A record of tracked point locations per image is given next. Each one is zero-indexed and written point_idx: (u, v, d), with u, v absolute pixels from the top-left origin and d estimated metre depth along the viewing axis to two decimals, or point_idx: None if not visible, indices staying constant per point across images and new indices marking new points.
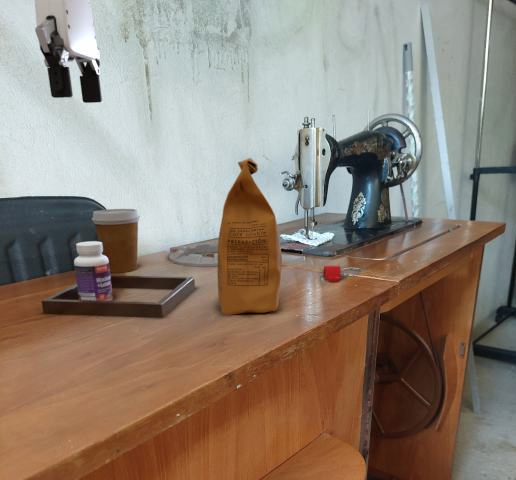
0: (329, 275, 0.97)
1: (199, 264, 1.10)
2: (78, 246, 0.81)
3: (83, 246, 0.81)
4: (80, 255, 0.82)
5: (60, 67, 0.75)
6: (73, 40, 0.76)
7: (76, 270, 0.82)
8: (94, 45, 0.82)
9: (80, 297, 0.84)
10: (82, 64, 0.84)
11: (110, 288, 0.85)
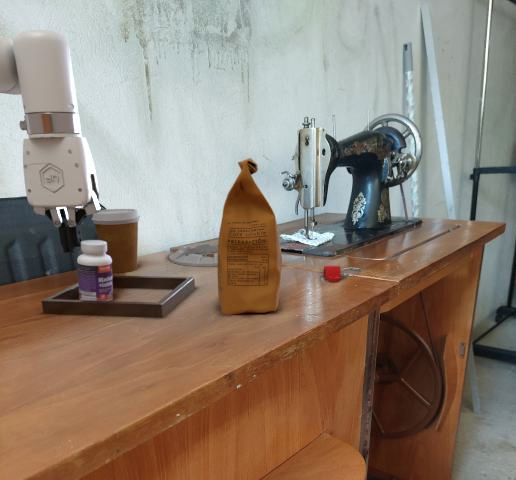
0: (329, 275, 0.97)
1: (199, 264, 1.10)
2: (83, 244, 0.81)
3: (88, 245, 0.80)
4: (84, 253, 0.82)
5: None
6: None
7: (79, 268, 0.82)
8: None
9: (80, 295, 0.83)
10: None
11: (111, 288, 0.85)
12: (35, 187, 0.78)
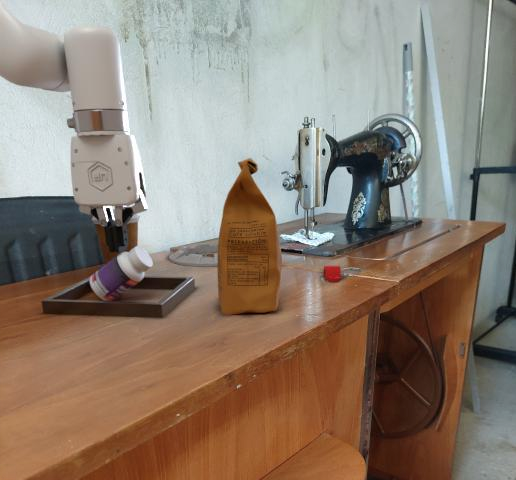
0: (329, 275, 0.97)
1: (199, 264, 1.10)
2: (135, 254, 0.80)
3: (138, 259, 0.80)
4: (129, 259, 0.81)
5: None
6: None
7: (114, 264, 0.81)
8: None
9: (94, 280, 0.82)
10: None
11: (122, 294, 0.85)
12: (83, 186, 0.76)
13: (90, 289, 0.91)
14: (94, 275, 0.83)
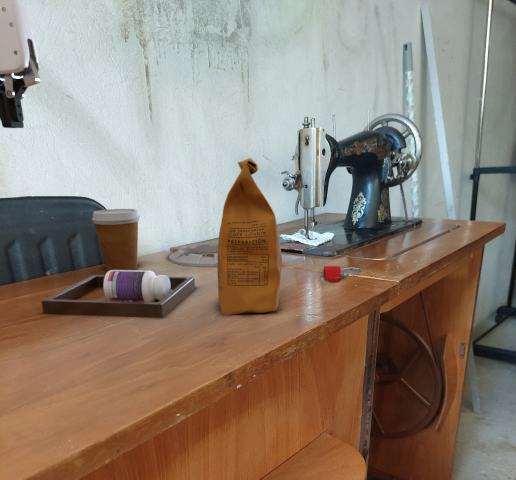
0: (329, 275, 0.97)
1: (199, 264, 1.10)
2: (161, 284, 0.81)
3: (161, 291, 0.81)
4: (153, 284, 0.82)
5: (19, 100, 0.79)
6: None
7: (137, 280, 0.81)
8: None
9: (110, 280, 0.82)
10: None
11: None
12: None
13: (90, 289, 0.91)
14: (112, 275, 0.82)
